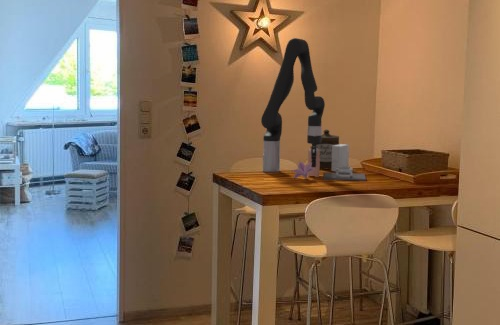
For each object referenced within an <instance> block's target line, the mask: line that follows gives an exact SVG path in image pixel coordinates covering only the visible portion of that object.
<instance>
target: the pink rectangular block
mask: <svg viewBox="0 0 500 325" xmlns="http://www.w3.org/2000/svg"><path fill="white" fill-rule="evenodd" d="M307 153H308V154H307V165H308V164H310V163H312V160H311V150H310V148H309V149H308V151H307ZM312 157H315V156H312ZM310 167H312V164H311V166H310ZM312 168H314V169H315V170H314V171H311V172H308V175H307V177H310V176H315V177H314V178H316V177H318V178H319V177H320V150H317V156H316V167H312Z"/></svg>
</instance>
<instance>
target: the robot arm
mask: <svg viewBox="0 0 500 325" xmlns="http://www.w3.org/2000/svg"><path fill="white" fill-rule="evenodd" d="M297 59H298V60H299V64H300V81H301V85H302V87H303V90H304V104H305V107H306V109H308V110H310V111H312V113H311V114H309V115H308V119H307V132H306V133H307V135H306V136H307V138H306V140H307V142H306V143H307V144H309V145H311V146H310V148H309V149H310V150H311V160H312V167H316V156H317V150H318V147H317V144H320V143H321V140H322V135H323V132H322V129H323V128H322V117H323V114H324V111H325V106H326V104H325V100H324V98H323V97H322V96H315V92H317V91H318V85H317V82H316V79H315V75H314V73H313V67H312V59H311V54H310V46H309V43H308V42H307V41H306V40H305V39H303V38H298V37H296V38H295V37H293V38H290V39H289V40H288V42H287V44H286V48H285V50H284V54H283V59H282V62H281V65H280V68H279V71H278V74H277V77H276V79H275V83H274V85H273V89H272V91H271V95H270V97H269V100H268V103H267V105H266V107H265V110H264V112H263V113H262V116H261V119H260V120H261V125H262V126H263V128H265V129H266V132H265V134H264V135H263V138H262V139H263V142H262V143H263V149H262V150H263V154H262V172H265V173H266V172H267V173H278V172H280V171H281V154H280V153H281V137H282V133H283V132H282V129H283V119H282V115H281V114H280V112H279V111H280V109H281V106H282V104H283V103H284V102H285V100H286V99H287V98H288V96H289V94H290V93H291V90H292V87H293V84H294V83H295V82H294V80H295V77H294V76H295V75H294V74H295V73H294V67H295V64H296V63H295V62H296V60H297ZM312 156H315V157H312Z"/></svg>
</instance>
